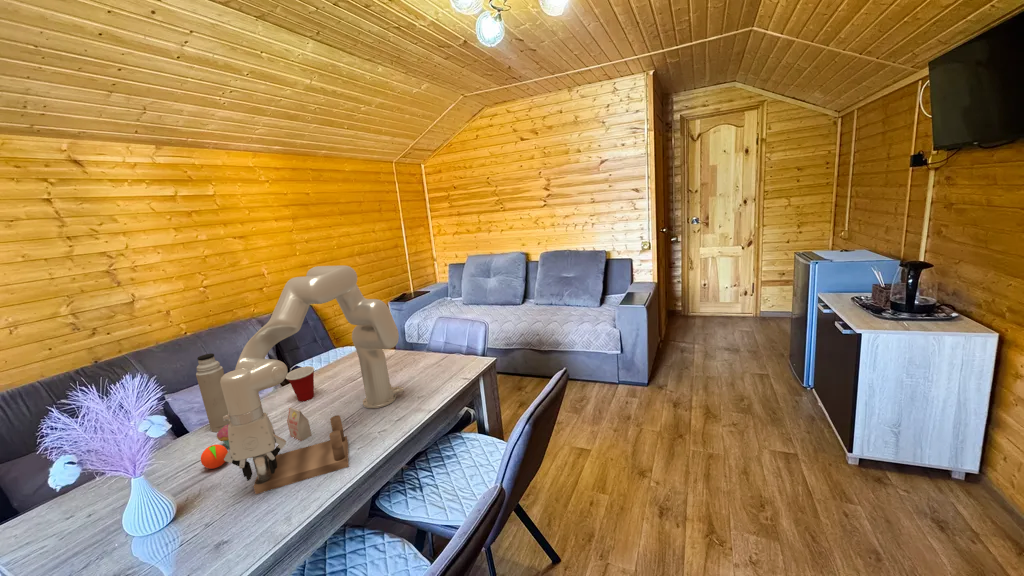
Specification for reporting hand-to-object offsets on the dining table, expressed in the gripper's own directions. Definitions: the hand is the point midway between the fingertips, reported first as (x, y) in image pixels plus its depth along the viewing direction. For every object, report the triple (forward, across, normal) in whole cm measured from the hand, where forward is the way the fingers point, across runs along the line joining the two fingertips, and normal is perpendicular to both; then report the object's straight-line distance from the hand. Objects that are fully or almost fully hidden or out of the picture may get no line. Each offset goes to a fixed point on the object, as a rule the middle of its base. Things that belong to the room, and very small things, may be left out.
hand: (261, 473), depth 115 cm
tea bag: (+5, +7, +26) cm, 27 cm away
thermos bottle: (+5, -21, +50) cm, 54 cm away
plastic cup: (+5, +6, +58) cm, 58 cm away
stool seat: (+4, +10, +5) cm, 12 cm away
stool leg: (+2, 0, +3) cm, 3 cm away
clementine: (+5, -16, +20) cm, 26 cm away
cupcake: (+5, -14, +32) cm, 36 cm away
